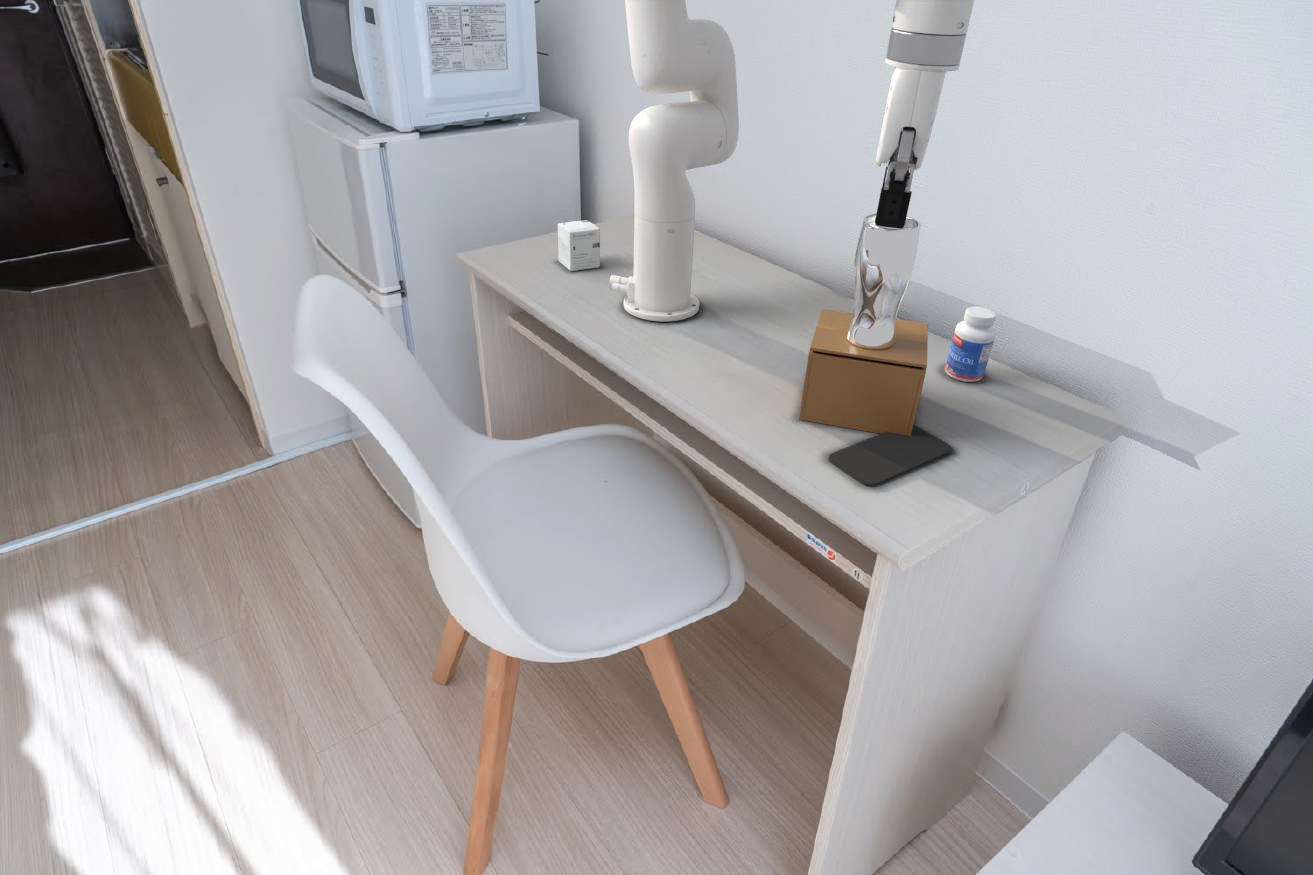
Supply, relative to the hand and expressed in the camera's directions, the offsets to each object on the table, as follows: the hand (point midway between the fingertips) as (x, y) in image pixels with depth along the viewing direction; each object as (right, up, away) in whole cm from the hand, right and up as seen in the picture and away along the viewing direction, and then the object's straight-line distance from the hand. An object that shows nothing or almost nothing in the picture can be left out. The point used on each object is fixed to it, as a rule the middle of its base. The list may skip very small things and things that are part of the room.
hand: (891, 213), depth 93 cm
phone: (+1, -28, +5) cm, 29 cm away
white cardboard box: (-42, +6, +57) cm, 71 cm away
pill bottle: (+17, -17, +24) cm, 34 cm away
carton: (0, -22, +15) cm, 26 cm away
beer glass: (0, -14, +8) cm, 16 cm away
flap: (+1, -12, +12) cm, 17 cm away
